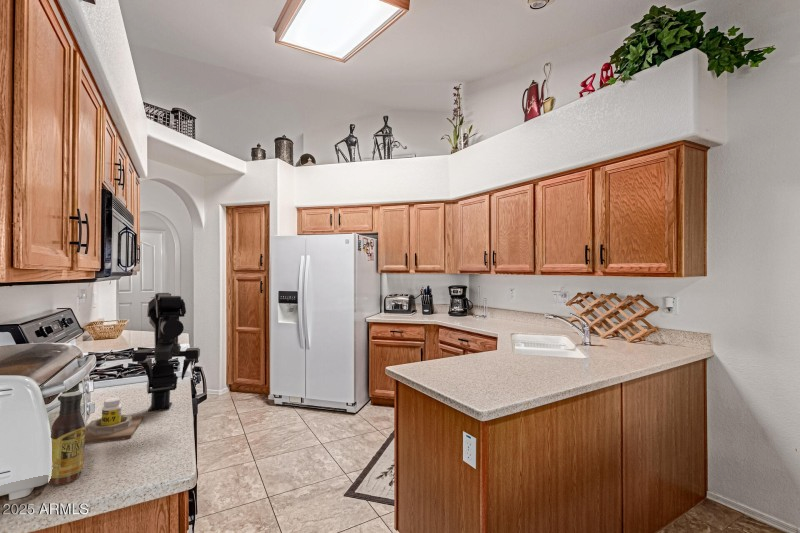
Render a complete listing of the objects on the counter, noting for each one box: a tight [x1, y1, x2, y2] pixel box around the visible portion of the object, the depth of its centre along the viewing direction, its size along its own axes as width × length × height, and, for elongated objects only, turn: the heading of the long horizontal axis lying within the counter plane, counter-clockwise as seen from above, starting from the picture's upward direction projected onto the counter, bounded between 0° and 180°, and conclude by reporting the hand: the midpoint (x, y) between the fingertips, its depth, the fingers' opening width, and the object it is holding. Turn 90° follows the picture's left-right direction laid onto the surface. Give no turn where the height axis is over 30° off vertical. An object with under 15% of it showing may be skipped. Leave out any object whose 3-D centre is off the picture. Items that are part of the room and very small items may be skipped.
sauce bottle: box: [47, 391, 86, 486], centre depth 89 cm, size 7×6×20 cm
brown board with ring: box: [84, 414, 145, 445], centre depth 116 cm, size 16×14×3 cm
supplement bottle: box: [101, 397, 122, 426], centre depth 116 cm, size 5×5×8 cm
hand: (166, 380), depth 126 cm, fingers open, 9 cm apart
